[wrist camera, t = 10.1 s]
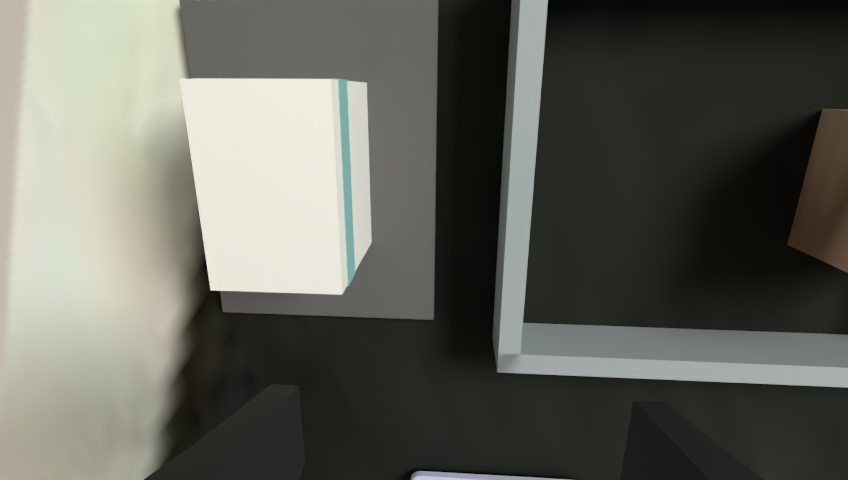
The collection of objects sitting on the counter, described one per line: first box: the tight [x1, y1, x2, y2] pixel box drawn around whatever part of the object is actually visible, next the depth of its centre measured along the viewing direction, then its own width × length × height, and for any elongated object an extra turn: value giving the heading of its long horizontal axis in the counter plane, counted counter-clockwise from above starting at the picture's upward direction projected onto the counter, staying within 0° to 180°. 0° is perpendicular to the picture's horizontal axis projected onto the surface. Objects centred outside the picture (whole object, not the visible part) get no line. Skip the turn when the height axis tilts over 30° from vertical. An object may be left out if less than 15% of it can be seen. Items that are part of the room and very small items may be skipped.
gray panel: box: [180, 0, 438, 320], centre depth 18 cm, size 12×9×1 cm
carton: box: [180, 78, 372, 295], centre depth 15 cm, size 4×6×5 cm
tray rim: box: [492, 0, 848, 387], centre depth 16 cm, size 14×17×2 cm
